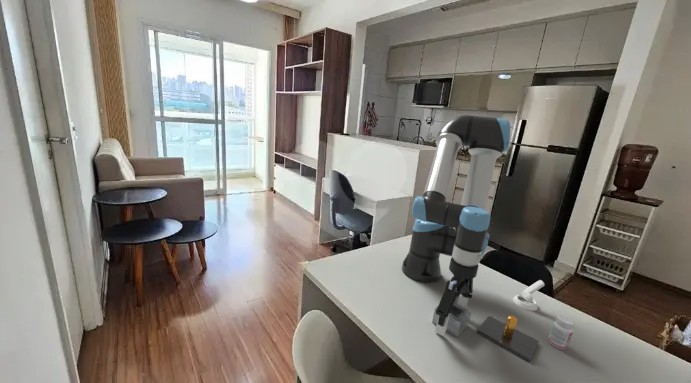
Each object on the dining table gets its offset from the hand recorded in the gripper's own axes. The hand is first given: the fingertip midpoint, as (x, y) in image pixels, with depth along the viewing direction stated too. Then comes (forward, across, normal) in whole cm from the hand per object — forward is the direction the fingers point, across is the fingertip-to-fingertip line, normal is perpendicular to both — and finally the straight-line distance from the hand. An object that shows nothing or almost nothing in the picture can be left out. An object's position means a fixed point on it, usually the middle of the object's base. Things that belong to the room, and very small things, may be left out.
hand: (450, 323), depth 90 cm
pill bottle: (0, +18, -25) cm, 31 cm away
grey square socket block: (0, 0, 0) cm, 0 cm away
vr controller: (0, +33, -13) cm, 36 cm away
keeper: (0, +8, -14) cm, 16 cm away
